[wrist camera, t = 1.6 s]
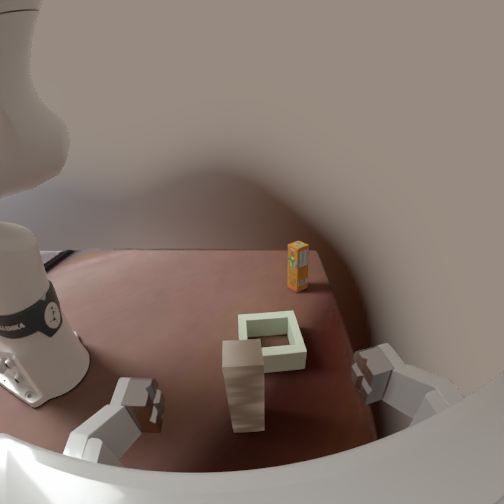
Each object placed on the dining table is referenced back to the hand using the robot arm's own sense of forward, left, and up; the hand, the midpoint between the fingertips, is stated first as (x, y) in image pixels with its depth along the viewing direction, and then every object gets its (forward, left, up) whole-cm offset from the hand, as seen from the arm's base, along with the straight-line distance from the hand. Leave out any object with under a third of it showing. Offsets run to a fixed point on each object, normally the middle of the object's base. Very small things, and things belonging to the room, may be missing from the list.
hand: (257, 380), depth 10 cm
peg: (-1, +11, -21) cm, 24 cm away
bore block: (+3, +24, -21) cm, 32 cm away
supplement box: (+11, +42, -21) cm, 49 cm away
